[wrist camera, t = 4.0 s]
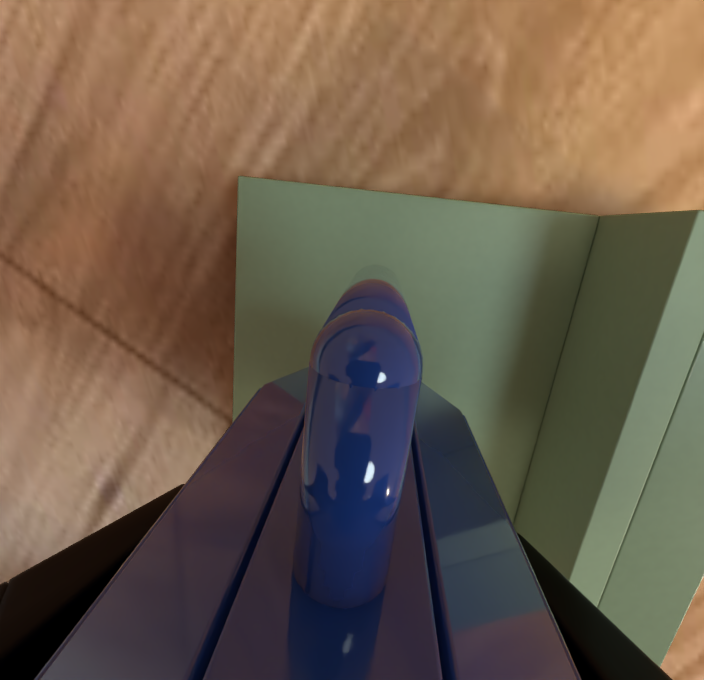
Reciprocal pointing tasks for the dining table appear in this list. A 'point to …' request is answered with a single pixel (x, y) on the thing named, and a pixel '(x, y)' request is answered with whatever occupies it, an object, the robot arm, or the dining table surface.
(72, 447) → the dining table surface
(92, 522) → the dining table surface
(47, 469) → the dining table surface
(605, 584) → the shelf
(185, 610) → the mug
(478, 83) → the dining table surface
